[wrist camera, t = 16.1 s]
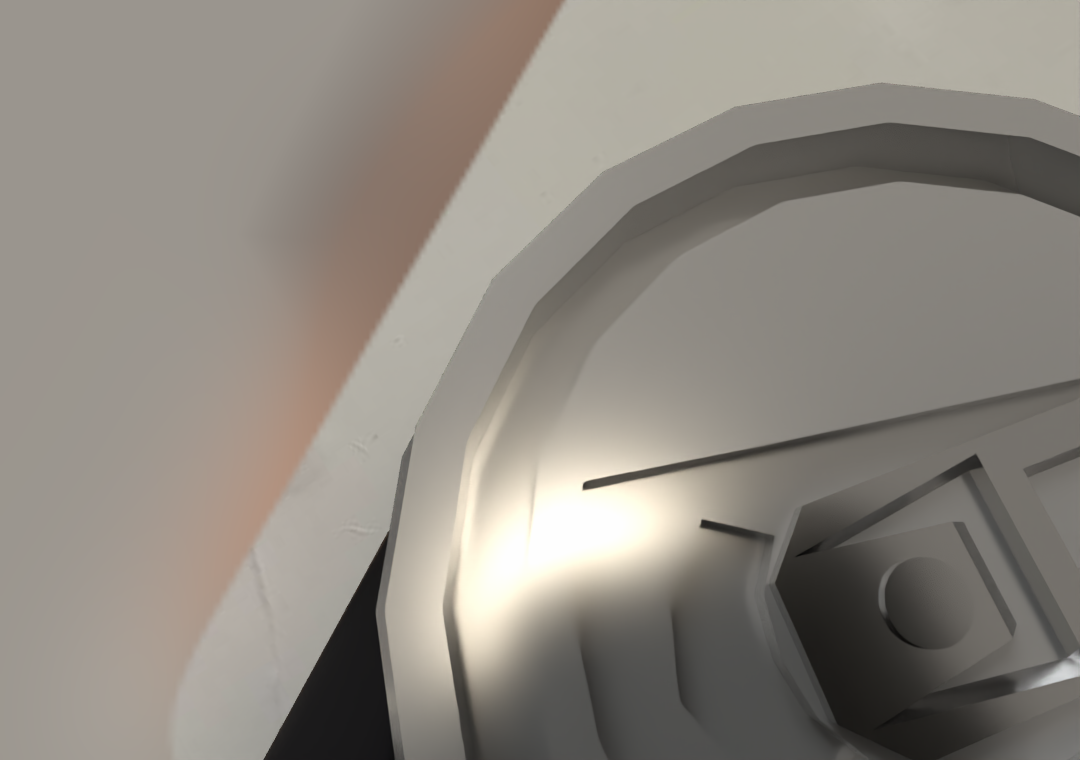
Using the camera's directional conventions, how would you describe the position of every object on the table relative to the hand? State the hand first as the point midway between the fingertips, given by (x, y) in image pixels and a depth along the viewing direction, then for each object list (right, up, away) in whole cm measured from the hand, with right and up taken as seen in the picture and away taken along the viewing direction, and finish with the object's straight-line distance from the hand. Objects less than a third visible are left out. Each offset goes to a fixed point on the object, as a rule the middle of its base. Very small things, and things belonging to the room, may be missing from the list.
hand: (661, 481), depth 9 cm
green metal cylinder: (0, -3, +6) cm, 7 cm away
